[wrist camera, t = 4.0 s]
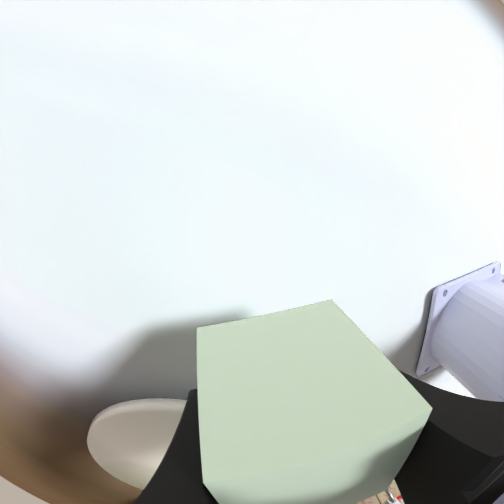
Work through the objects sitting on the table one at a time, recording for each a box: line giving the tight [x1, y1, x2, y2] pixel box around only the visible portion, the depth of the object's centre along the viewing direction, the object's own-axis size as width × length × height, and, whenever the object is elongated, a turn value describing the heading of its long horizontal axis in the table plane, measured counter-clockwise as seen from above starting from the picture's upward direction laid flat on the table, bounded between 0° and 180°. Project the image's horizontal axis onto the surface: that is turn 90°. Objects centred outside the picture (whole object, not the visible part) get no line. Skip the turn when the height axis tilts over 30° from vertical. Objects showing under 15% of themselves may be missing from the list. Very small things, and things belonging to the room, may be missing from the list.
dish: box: [87, 398, 187, 490], centre depth 15 cm, size 13×13×2 cm
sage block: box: [197, 299, 433, 504], centre depth 8 cm, size 5×5×6 cm
